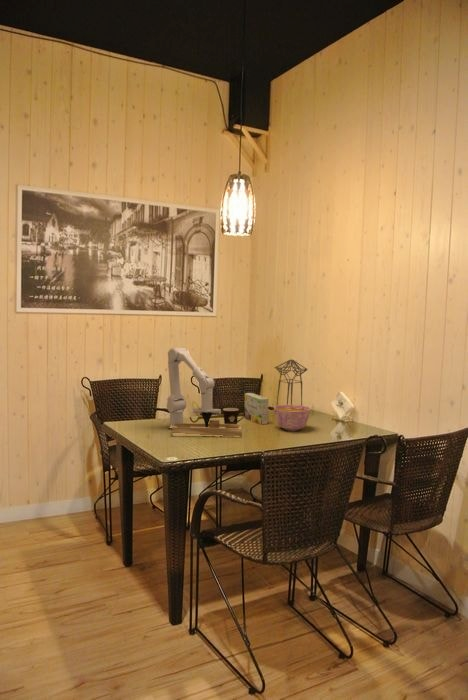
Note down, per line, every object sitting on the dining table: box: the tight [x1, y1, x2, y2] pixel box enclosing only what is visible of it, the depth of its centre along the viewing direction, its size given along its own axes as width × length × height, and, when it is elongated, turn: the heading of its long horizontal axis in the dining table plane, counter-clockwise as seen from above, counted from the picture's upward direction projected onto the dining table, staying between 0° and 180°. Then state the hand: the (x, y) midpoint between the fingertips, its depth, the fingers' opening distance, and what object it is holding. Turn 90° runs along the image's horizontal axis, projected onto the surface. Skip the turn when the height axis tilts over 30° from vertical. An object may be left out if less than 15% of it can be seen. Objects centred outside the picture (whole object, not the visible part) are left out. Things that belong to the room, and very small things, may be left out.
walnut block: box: [208, 419, 220, 428], centre depth 288 cm, size 5×5×4 cm
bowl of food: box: [273, 404, 311, 432], centre depth 302 cm, size 20×20×12 cm
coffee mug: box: [222, 407, 245, 424], centre depth 305 cm, size 12×9×10 cm
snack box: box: [244, 392, 269, 426], centre depth 322 cm, size 21×6×15 cm, turn 25°
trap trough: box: [171, 422, 242, 437], centre depth 288 cm, size 11×36×4 cm, turn 89°
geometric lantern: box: [274, 359, 308, 407], centre depth 335 cm, size 16×16×35 cm
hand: (206, 426), depth 288 cm, fingers closed
